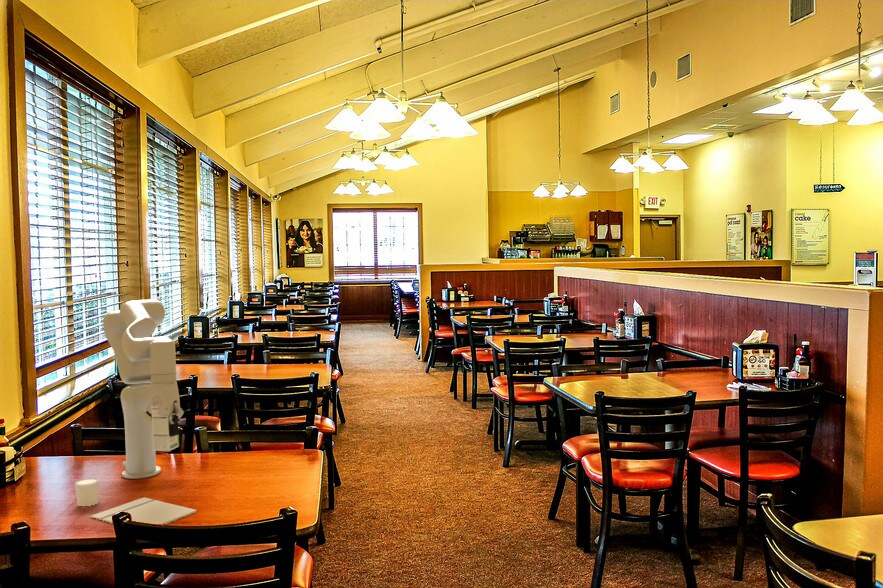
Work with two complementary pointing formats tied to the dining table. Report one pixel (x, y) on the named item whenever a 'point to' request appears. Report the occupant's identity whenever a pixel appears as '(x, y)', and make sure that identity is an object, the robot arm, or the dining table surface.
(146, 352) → the robot arm
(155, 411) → the syrup box
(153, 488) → the dining table surface
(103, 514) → the mat
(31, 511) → the dining table surface
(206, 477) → the dining table surface
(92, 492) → the white short cylinder
